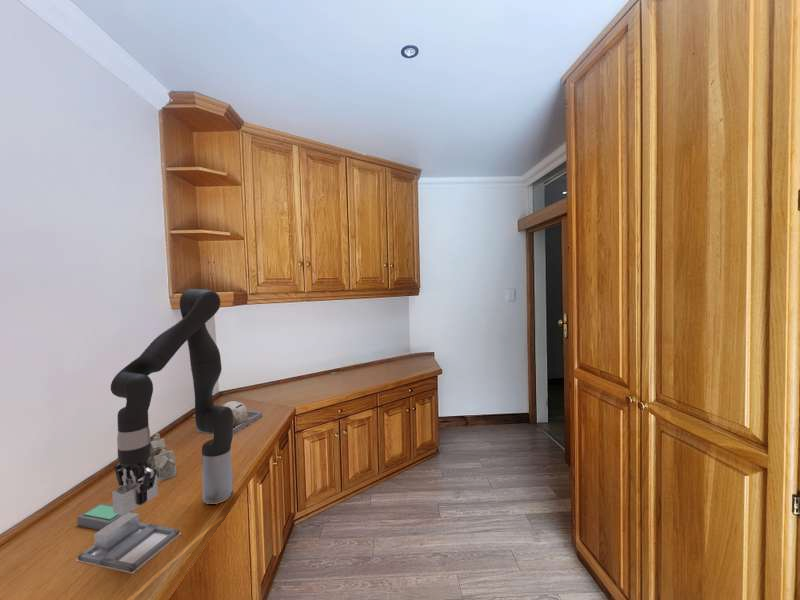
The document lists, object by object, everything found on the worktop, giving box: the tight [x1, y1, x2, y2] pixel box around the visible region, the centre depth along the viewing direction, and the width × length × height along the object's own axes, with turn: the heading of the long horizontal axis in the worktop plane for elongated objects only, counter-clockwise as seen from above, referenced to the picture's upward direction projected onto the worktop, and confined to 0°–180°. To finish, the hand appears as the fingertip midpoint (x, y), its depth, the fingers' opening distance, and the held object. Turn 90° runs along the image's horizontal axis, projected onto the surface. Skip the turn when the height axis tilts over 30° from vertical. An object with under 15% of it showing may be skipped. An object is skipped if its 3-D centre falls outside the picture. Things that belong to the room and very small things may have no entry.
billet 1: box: [111, 475, 159, 516], centre depth 106 cm, size 4×10×6 cm, turn 163°
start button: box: [84, 504, 119, 521], centre depth 118 cm, size 5×10×2 cm, turn 77°
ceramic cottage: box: [147, 433, 177, 483], centre depth 148 cm, size 16×16×15 cm
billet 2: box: [94, 512, 140, 557], centre depth 108 cm, size 10×4×6 cm, turn 167°
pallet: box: [75, 521, 182, 574], centre depth 107 cm, size 16×19×2 cm
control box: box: [77, 502, 133, 531], centre depth 118 cm, size 7×12×4 cm, turn 77°
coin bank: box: [222, 400, 249, 428], centre depth 199 cm, size 16×17×13 cm
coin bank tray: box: [195, 410, 263, 435], centre depth 201 cm, size 27×20×2 cm
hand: (136, 501), depth 106 cm, fingers closed on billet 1, 4 cm apart
